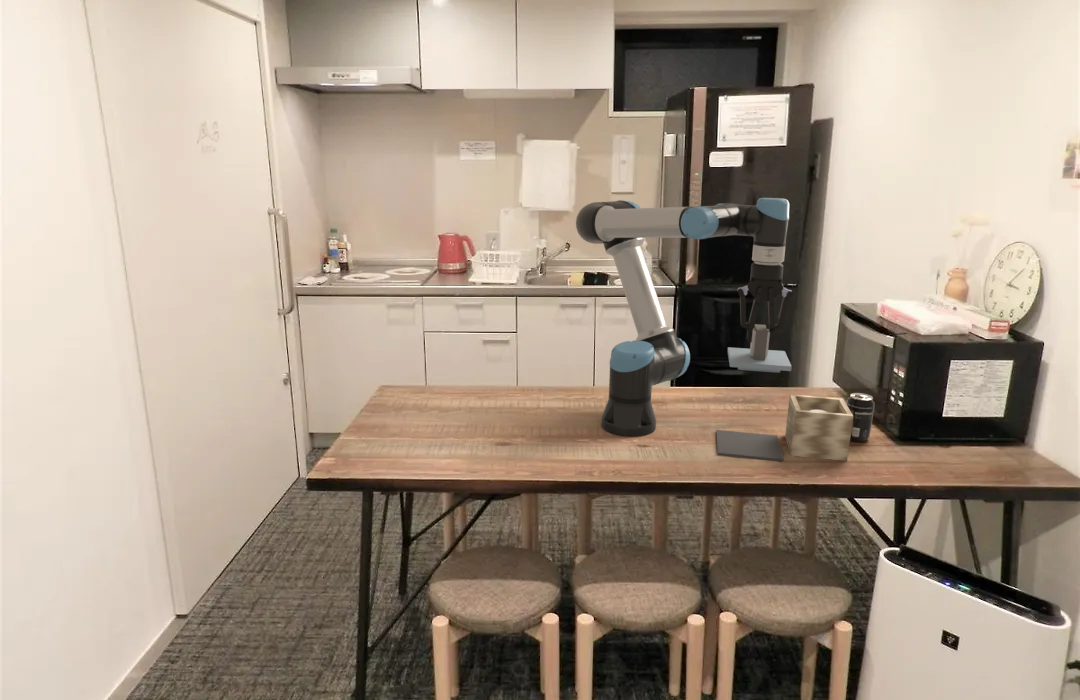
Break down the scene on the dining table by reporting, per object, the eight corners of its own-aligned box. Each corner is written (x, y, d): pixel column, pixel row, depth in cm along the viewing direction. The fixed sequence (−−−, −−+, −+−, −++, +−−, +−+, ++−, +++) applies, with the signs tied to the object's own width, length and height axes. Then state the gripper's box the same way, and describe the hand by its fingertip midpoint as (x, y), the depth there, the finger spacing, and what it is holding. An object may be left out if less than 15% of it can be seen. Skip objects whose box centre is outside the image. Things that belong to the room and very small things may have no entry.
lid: (729, 371, 176) (732, 332, 173) (727, 356, 189) (730, 319, 187) (790, 375, 173) (795, 336, 170) (783, 359, 187) (787, 323, 184)
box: (791, 455, 182) (796, 411, 179) (785, 435, 194) (789, 394, 191) (846, 460, 179) (853, 416, 176) (837, 440, 192) (842, 398, 189)
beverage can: (845, 431, 198) (851, 390, 195) (871, 437, 195) (877, 395, 191) (839, 438, 193) (845, 397, 190) (866, 445, 189) (872, 402, 186)
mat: (717, 454, 181) (718, 452, 181) (716, 431, 196) (716, 429, 196) (783, 461, 178) (783, 459, 178) (776, 437, 193) (777, 435, 193)
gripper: (735, 263, 172) (727, 356, 178) (803, 266, 169) (792, 361, 175) (733, 259, 179) (725, 349, 186) (799, 261, 176) (789, 353, 183)
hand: (758, 355), depth 180 cm, fingers closed on lid, 3 cm apart
